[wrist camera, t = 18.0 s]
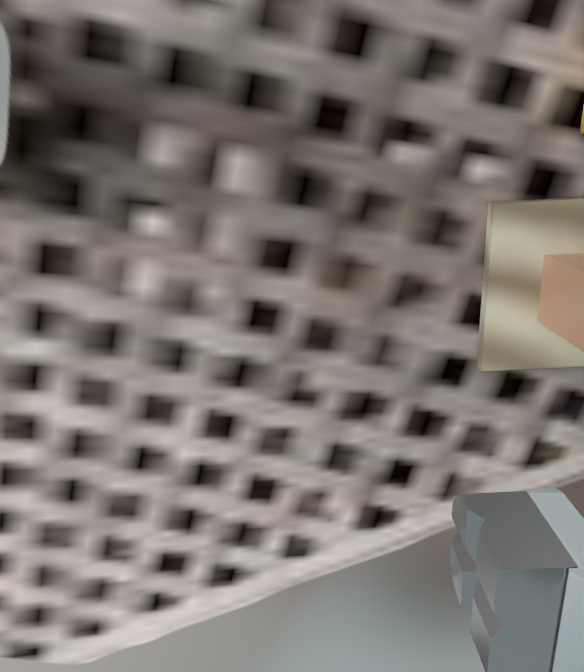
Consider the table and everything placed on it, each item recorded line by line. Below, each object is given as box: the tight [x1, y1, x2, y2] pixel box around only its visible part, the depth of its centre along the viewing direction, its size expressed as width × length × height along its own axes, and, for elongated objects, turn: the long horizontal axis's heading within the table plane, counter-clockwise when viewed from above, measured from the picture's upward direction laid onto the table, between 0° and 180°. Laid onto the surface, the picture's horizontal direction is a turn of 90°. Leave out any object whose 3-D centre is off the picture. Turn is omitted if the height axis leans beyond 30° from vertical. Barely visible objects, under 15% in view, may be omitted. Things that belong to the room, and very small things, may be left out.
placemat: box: [477, 197, 584, 371], centre depth 42 cm, size 14×14×1 cm
